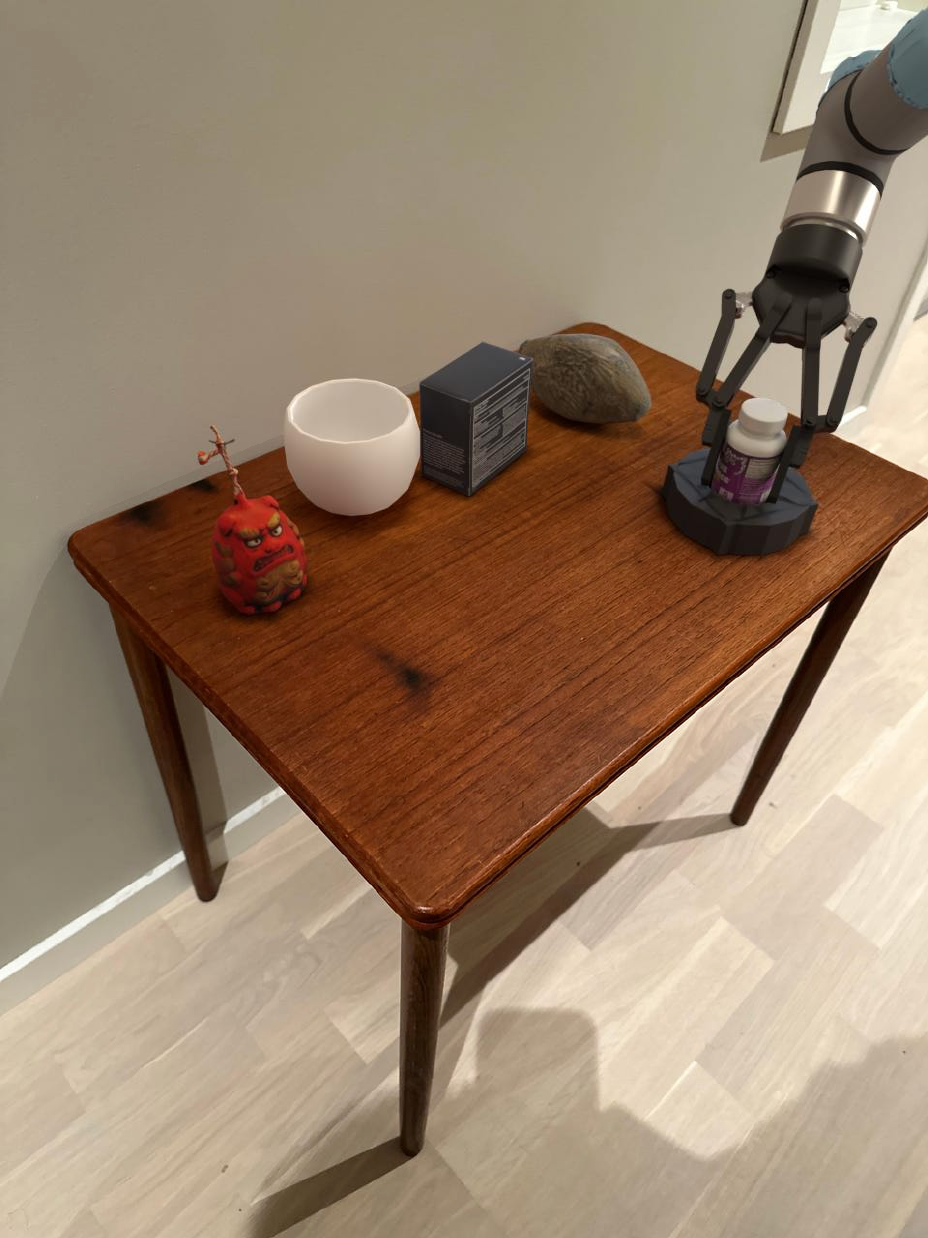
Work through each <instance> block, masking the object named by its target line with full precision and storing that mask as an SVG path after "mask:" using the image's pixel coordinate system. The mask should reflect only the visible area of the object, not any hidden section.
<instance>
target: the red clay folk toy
mask: <svg viewBox="0 0 928 1238" xmlns="http://www.w3.org/2000/svg"><path fill="white" fill-rule="evenodd" d="M209 429H210V430H212V432H213V433H214V434H215V436H216V438H215V440H212V439H209V440H208V442H209V443H212V444H215V447H216V449H215V450H211V451H208V452H205V451H203V450H202V451H200V450H199V451H197V460H198V461H197V462H198V464H199V466H204V465H206V464H208V463H209V461H210V459H212V458H213V457H216V456H218V455H221V457H222V459H223V461H224V463H225V466H226V468H227V470H228V477H229V479H230V481H231V483H232V494H233V500H232V503H231V504H230V505H229V506H228V507H227V508H226V509H225V510H224V511H223V512H222V513H221V514H220V516H219V517H218V518H217V520H216V521H215V524H214V527H213V534H212V535H213V536H212V541H211V555H212V556H211V557H212V562H213V565H214V569H215V572H216V576H217V581H218V586H219V588H220V591H221V593H222V595H223V597H224V598H225V599H227V601H228V602H229V603H231V604H232V606H233V607H234V608H235V609H236V610H237V611H239V612H240V613H242V614H245V615H249V616H251V615H255V614H257V613H273V612H276V611H277V610H279V609H280V608H281V607H282V605H283V604H286V602H294V601H295V600H296V599H298V598H299V597H300V596H301V593H302V592H303V591H304V590H305V589H306V588H307V585H308V577H307V574H306V571H307V564H308V560H307V555H306V554H307V553H305V550H306V544H305V541H304V539H303V538H302V537H301V535H300V531H299V529H298V526H297V525H296V524H295V523H294V522H293V521H291V520H290V518H289V517H288V515H286V513H285V512H283V510H281V509H280V505H279V502H278V501H277V500H276V499H275V498H273V497H272V496H271V495H268V494H267V495H262V496H260V497H258V498H257V497H256V498H249V499H247V498H246V495H245V493H244V490H243V489H242V488H241V486H240V484H239V482H238V481H237V476H238V473H239V470H237V468H234V467H233V465H232V463H231V460H230V455H229V452H228V449H227V446H226V445H229V444H231V443H235V441H236V439H235V438H232V439H230V440H228V441H223V440H222V437H221V435H220V432H219V430H218V429H217V427H216V426H215V425H209Z"/></svg>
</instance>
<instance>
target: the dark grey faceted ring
mask: <svg viewBox="0 0 928 1238" xmlns="http://www.w3.org/2000/svg"><path fill="white" fill-rule="evenodd" d="M710 449H711V447H706V448H702V449H698V450H697V449H696V450H693V451H692V452H690V453H689V454H687V455H686V456H684V457H682V458H680V459H679V460H678V462H675V463H670V464H668V465H667V469H666V474H665V478H664V482H663V486H662V491H661V496H663V498H664V499H665V500H666V501H665V504H666V508H667V512H668V516H669V517H668V518H669V519H670V521H671V522H672V523H673V524H674V525H675V526H676V527H677V529H678V530H679V531H680V532H681V533H682V534H683V535H685V536H686V537H688V538H690V539H691V540H693V541H695V542H697V543H698V544H700V545H702V546H703V547H706V548H708V549H711V550H712V552H713V553H714V554H715V555H716V556H723V555H726V554H729V555H736V556H764V555H768V554H771V553H775V552H780V551H783V550H785V549H786V548H787V547H789V546H790V545H791V544H792V543H794V542H795V541H796V540H797V539H798V538H799V536H803V535H807V534H808V533H809V531H810V529H811V526H812V523H813V521H814V518H815V515H816V514H817V513H816V512H817V510H818V508H819V504H820V503H819V502H818V501H817V500H815V499H814V498H813V493H812V491H811V489H810V486H809V485H808V482H807V480H806V478H805V477H804V476H803V475H802V474H801V473H799V472H798V471H797V469H795V468H791V467H788V470H787V473H786V476H785V479H784V482H783V485H782V488H781V491H780V494H779V497H778V500H777V502H776V504H773V503H770V502H767V501H768V499H767V501H766V503H765V504H761V505H741V504H737V503H733V502H729V501H727V500H725V499H723V498H721V497H719V496H717V495H716V494H715V493H714V492H713V491H712V490H711V485H712V481H713V478H714V474H715V470H716V466H717V463H718V460H717V463H716V466H715V469H714V472H713V476H712V479H711V482H710V485H709V486H705V485H701V476H702V473H703V470H704V467H705V464H706V461H707V458H708V455H709V452H710ZM721 449H722V448H721ZM720 452H721V451H720ZM719 456H720V454H719ZM718 459H719V457H718ZM776 474H777V473H776ZM775 477H776V476H775ZM774 480H775V479H774ZM773 483H774V482H773ZM772 486H773V485H772ZM771 489H772V488H771ZM770 492H771V490H770ZM769 495H770V493H769ZM768 498H769V496H768Z"/></svg>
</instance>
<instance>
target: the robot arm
mask: <svg viewBox="0 0 928 1238" xmlns="http://www.w3.org/2000/svg"><path fill="white" fill-rule="evenodd" d="M812 124H813V125H812V127H811V131H810V134H809V137H808V140H807V142H806V147H805V149H804V152H803V155H802V159H801V162H800V165H799V169H798V172H797V173H796V174H797V175H796V178H795V181H794V183H793V185H792V188H791V191H790V193H789V197H788V201H787V204H786V207H785V210H784V213H783V216H782V220H781V222H780V226H779V232H780V233H779V234H777V236H776V238H775V240H774V244H773V247H772V250H771V253H770V255H769V259H768V262H767V265H766V268H765V272H764V275H763V277H762V278H761V281H760V282H759V283H758V284H757V285H756V286H755V287H754V288H753V290H752V291H751V290H750V291H743V292H741V291H740V292H736V290H735V289H732V288H726V289H724V290H723V292H722V293H721V303H720V305H721V306H720V313H721V314H720V315H721V316H720V319H719V321H718V324H717V327H716V330H715V332H714V336H713V337H712V338H713V339H712V341H711V343H710V346H709V348H708V351H707V354H706V358H705V359H704V362H703V365H702V368H701V372H700V373H699V377H698V380H697V382H696V385H695V388H694V389H695V390H694V393H695V400H696V401H697V402H698V403H700V404H702V405H704V406H706V407H707V408H708V409H709V410H708V411H709V412H708V414H707V418H706V420H705V424H704V427H703V429H702V432H701V445H702V446H704V447H707V448H711V449H710V452H709V455H708V458H707V461H706V464H705V467H704V470H703V473H702V476H701V485H705V486H709V485H710V482H711V479H712V476H713V472H714V469H715V466H716V463H717V460H718V457H719V454H720V451H721V448H722V445H723V441H724V438H725V434H726V431H727V429H728V427H729V426H730V425H731V420H732V415H733V410H732V409H728V408H729V406H730V405H731V403H732V402H733V400H734V399H735V397H736V396H737V394H738V392H739V391H740V390H741V388H742V386H743V385H744V384H745V382H746V381H747V379H748V377H749V376H750V375H751V373H752V372H753V371H754V368H755V367H756V366H757V364H758V362H759V361H760V359H761V358H762V356H763V355H764V354H765V353H766V352H767V350H768V349H769V347H770V345H771V344H775V345H784V344H786V345H789V346H791V347H793V348H795V349H800V350H801V387H800V417H799V418H800V419H799V425H796V424H792V426H791V428H790V431H789V435H788V438H787V439H786V447H785V450H784V453H783V455H782V458H781V461H780V464H779V467H778V470H777V474H776V477H775V480H774V483H773V486H772V489H771V492H770V495H769V498H768V501H767V502H770V503H773V504H776V502H777V500H778V497H779V494H780V491H781V488H782V485H783V482H784V479H785V476H786V473H787V470H788V467H791V468H794V469H795V470H800V469H801V468H802V467H803V465H804V464H805V461H806V459H807V456H808V452H809V449H810V446H811V443H812V441H813V438H814V436H816V435H817V434H823V433H827V434H834V433H835V432H836V431H837V429H838V428H839V426H840V424H841V422H842V420H843V416H844V413H845V410H846V406H847V403H848V400H849V396H850V393H851V390H852V386H853V383H854V379H855V375H856V372H857V370H858V365H859V362H860V358H861V356H862V352H863V349H864V347H865V346H866V345H867V344H868V342H869V341H870V340H871V338H872V336H873V335H874V333H875V330H876V329H877V327H878V319H876V318H875V317H873V316H868V317H866V318H864V317H862V316H861V315H859V314H857V313H855V312H853V311H851V309H852V306H851V301H850V293H851V291H852V288H853V285H854V283H855V279H856V276H857V273H858V270H859V267H860V264H861V261H862V257H863V254H864V252H863V248H864V247H865V246H866V244H867V242H868V240H869V236H870V233H871V230H872V227H873V224H874V222H875V218H876V215H877V212H878V210H879V206H880V204H881V200H882V197H883V193H884V190H885V187H886V184H887V181H888V178H889V176H890V173H891V171H892V167H893V164H894V163H895V161H896V160H897V158H898V157H899V156H901V155H902V154H904V153H905V152H906V151H908V150H910V149H911V148H913V147H914V146H915V145H917V144H918V143H920V141H922V140H923V139H925V138H926V137H927V136H928V6H926V8H923V9H921V10H920V11H919V12H918V13H917V14H916V15H914V16H912V17H911V18H910V19H908V20H907V21H906V23H905V24H904V25H902V27H901V29H899V31H898V32H897V34H896V35H895V36H894V37H893V38H892V39H891V40H890V41H889V42H888V43H887V44H886V45H885V47H884V48H882V49H868V50H863V51H861V52H860V53H858V55H856V56H854V55H852V56H848V57H846V58H845V59H844V60H842V61H841V62H840V63H839V64H838V65H837V66H836V67H835V68H834V70H833V71H832V73H831V75H830V78H829V80H828V82H827V85H826V87H825V90H824V92H823V94H822V95H821V97H820V98H819V100H818V103H817V109H816V111H815V118H814V122H813V123H812ZM750 307H752V309H753V312H754V315H755V317H756V320H757V323H758V325H759V326H758V328H757V330H756V331H755V333H754V335H753V337H752V339H751V340H750V341H749V343H748V344H747V346H746V348H745V349H744V351H743V352H742V354H741V355H740V357H739V358H738V360H737V361H736V362H735V364H734V366H733V367H732V369H731V370H730V372H729V373H728V375H727V376H726V378H725V379H724V381H723V382H722V384H721V386H720V387H719V388H718V390H715V389H714V385H715V382H716V379H717V377H718V374H719V371H720V369H721V366H722V363H723V360H724V357H725V355H726V351H727V349H728V346H729V344H730V341H731V338H732V336H733V332H734V329H735V323H736V320H739V319H742V318H743V317H744V315H745V312H746V310H747V309H748V308H750ZM841 326H843V327H844V331H845V332H844V334H843V339H844V341H845V342H846V343H848V344H847V345H846V348H845V351H844V353H843V356H842V360H841V362H840V367H839V370H838V374H837V377H836V380H835V384H834V387H833V391H832V393H831V397H830V400H829V404H828V407H827V411H826V414H819V401H820V400H819V397H820V396H819V395H820V369H821V367H820V364H821V348H822V340H824V339H825V338H826V337H827V336H829V335H830V334H831V333H833V332H834V331H836V330H837V329H838V328H839V327H841Z"/></svg>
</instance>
